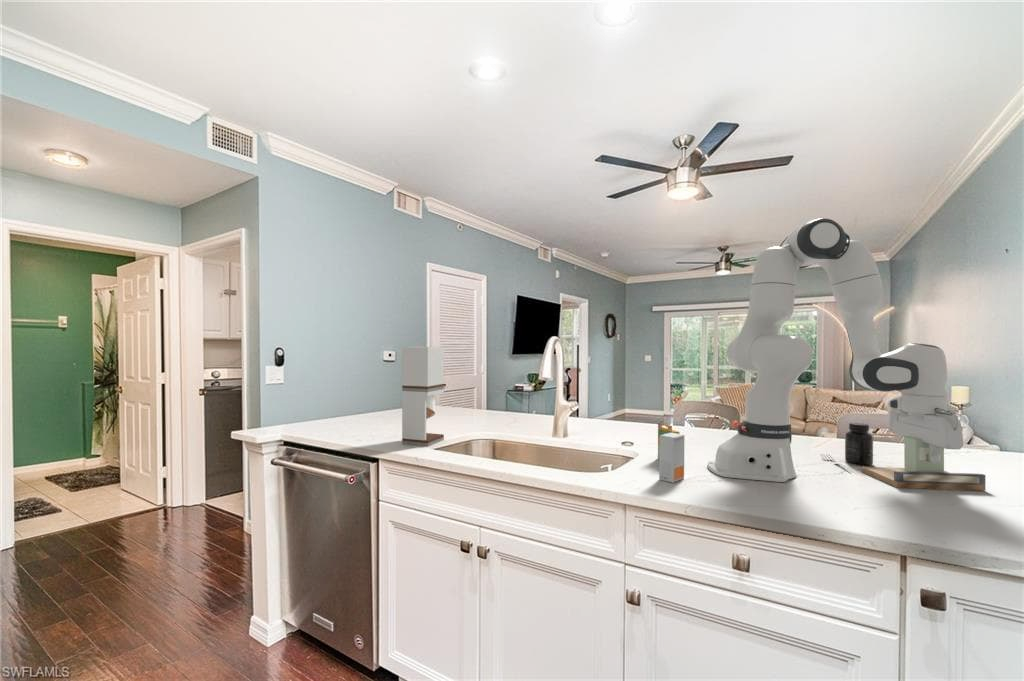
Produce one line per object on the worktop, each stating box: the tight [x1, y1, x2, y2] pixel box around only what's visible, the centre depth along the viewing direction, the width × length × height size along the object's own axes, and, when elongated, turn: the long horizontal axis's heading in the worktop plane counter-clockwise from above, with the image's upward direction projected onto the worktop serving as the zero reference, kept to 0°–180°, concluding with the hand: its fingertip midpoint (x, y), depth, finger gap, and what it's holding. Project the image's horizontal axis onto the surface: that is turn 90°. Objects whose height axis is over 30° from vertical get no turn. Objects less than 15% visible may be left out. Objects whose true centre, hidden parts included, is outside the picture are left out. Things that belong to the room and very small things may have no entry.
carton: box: [903, 437, 945, 473], centre depth 118 cm, size 4×6×10 cm, turn 83°
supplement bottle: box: [844, 422, 874, 467], centre depth 139 cm, size 7×7×12 cm
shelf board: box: [861, 466, 986, 491], centre depth 121 cm, size 20×14×4 cm
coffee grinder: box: [401, 346, 445, 447], centre depth 168 cm, size 11×11×35 cm
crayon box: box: [657, 421, 681, 460], centre depth 141 cm, size 7×3×12 cm, turn 16°
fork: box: [820, 453, 856, 474], centre depth 133 cm, size 3×24×2 cm, turn 168°
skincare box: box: [658, 433, 685, 484], centre depth 123 cm, size 6×4×12 cm
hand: (923, 458), depth 118 cm, fingers open, 4 cm apart
